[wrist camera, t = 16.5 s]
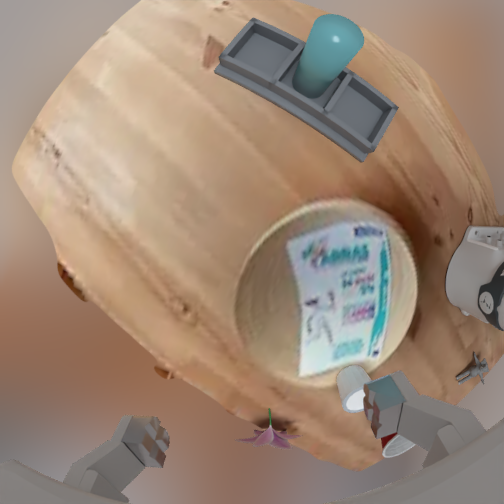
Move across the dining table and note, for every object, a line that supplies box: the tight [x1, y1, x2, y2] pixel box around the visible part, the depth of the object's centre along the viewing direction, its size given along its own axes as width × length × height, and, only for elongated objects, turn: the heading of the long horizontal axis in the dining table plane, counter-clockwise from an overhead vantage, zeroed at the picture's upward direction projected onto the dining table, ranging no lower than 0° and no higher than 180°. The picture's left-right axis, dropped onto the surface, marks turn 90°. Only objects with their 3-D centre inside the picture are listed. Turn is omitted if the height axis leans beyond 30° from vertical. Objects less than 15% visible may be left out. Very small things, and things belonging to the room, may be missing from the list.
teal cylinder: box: [292, 14, 364, 99], centre depth 25 cm, size 5×5×15 cm
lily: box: [235, 408, 303, 449], centre depth 44 cm, size 12×12×10 cm
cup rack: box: [214, 18, 399, 162], centre depth 31 cm, size 25×11×4 cm, turn 58°
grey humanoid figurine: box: [456, 352, 489, 385], centre depth 44 cm, size 10×6×9 cm
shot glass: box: [336, 365, 372, 413], centre depth 42 cm, size 7×7×7 cm
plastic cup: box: [381, 432, 415, 457], centre depth 42 cm, size 11×11×12 cm
